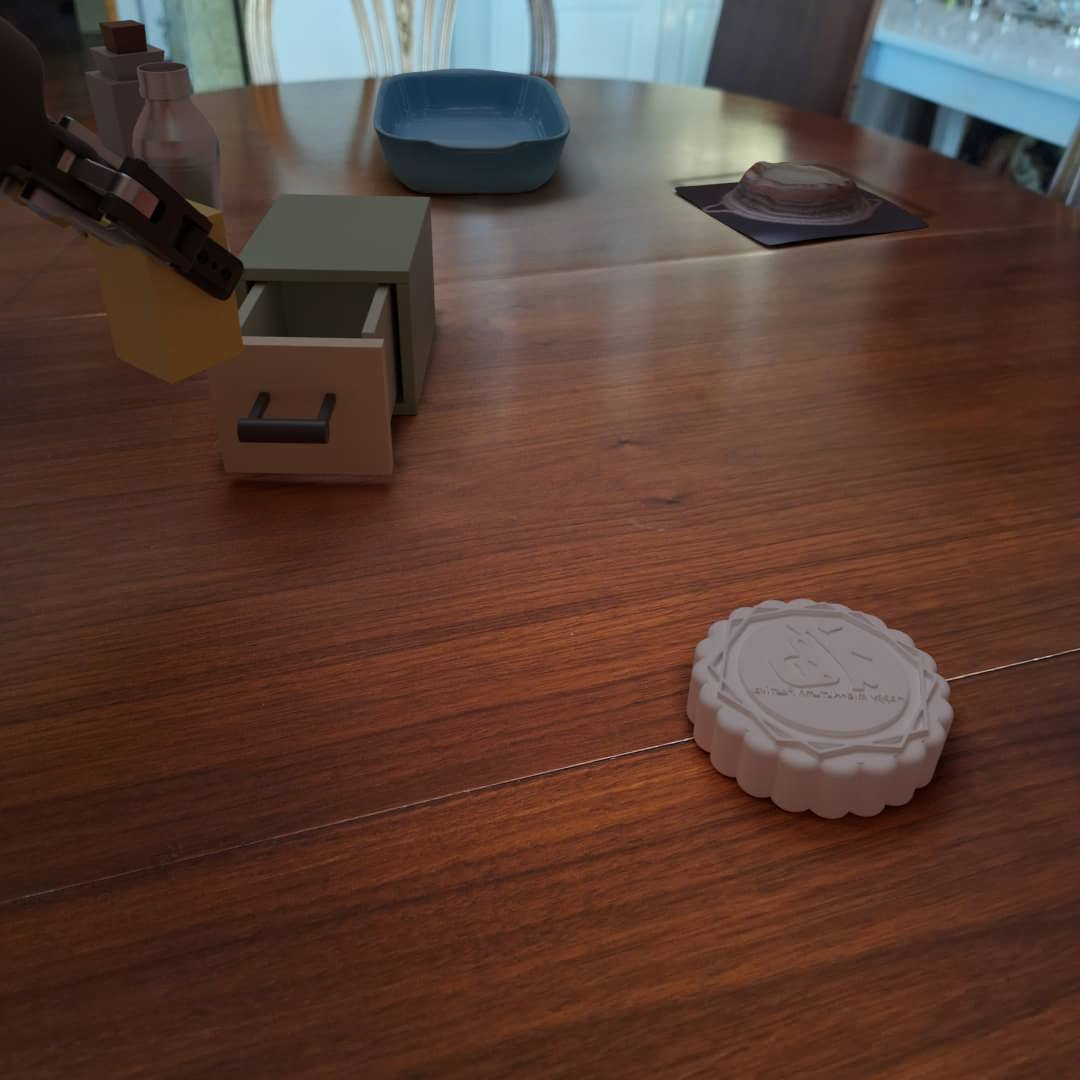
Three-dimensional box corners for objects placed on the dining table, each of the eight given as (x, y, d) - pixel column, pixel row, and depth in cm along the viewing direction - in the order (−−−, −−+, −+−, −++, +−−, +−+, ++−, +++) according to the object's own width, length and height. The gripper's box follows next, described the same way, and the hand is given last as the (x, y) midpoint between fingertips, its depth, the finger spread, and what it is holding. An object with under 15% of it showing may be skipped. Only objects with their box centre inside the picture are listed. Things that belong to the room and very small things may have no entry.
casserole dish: (579, 207, 113) (582, 139, 109) (374, 209, 112) (368, 140, 107) (546, 122, 143) (547, 66, 139) (384, 123, 141) (380, 66, 137)
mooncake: (907, 648, 55) (923, 595, 53) (968, 831, 45) (991, 775, 43) (680, 635, 55) (687, 582, 53) (692, 813, 46) (701, 757, 44)
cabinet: (416, 415, 75) (408, 271, 68) (252, 412, 75) (229, 267, 68) (435, 325, 87) (430, 196, 81) (295, 322, 87) (279, 193, 81)
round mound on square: (767, 249, 104) (773, 209, 101) (670, 191, 119) (673, 155, 117) (933, 226, 111) (942, 188, 108) (821, 174, 126) (827, 140, 123)
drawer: (381, 519, 62) (370, 385, 57) (204, 515, 62) (176, 381, 57) (414, 373, 78) (408, 258, 73) (273, 370, 78) (257, 255, 73)
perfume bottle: (175, 196, 114) (141, 15, 103) (202, 212, 110) (169, 25, 99) (115, 208, 110) (73, 21, 100) (140, 225, 106) (99, 32, 96)
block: (171, 385, 51) (141, 235, 47) (115, 358, 53) (82, 213, 49) (245, 354, 54) (223, 210, 50) (190, 329, 56) (164, 190, 52)
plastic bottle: (242, 305, 90) (202, 55, 78) (254, 336, 85) (213, 74, 73) (165, 314, 88) (112, 60, 77) (172, 347, 83) (117, 79, 71)
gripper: (27, -25, 34) (330, 237, 49) (-171, -64, 41) (147, 176, 56) (-81, 173, 34) (257, 377, 49) (-262, 100, 41) (83, 298, 56)
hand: (197, 269), depth 53 cm, fingers closed on block, 4 cm apart
